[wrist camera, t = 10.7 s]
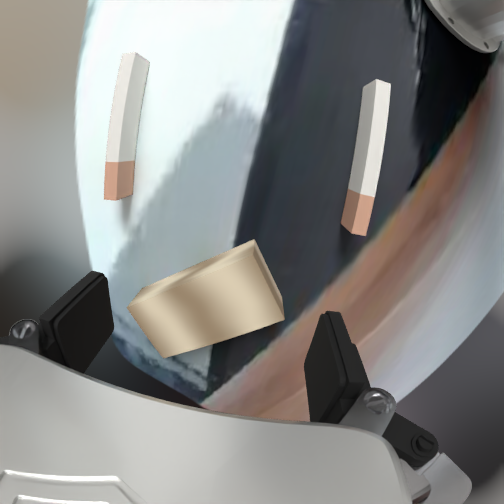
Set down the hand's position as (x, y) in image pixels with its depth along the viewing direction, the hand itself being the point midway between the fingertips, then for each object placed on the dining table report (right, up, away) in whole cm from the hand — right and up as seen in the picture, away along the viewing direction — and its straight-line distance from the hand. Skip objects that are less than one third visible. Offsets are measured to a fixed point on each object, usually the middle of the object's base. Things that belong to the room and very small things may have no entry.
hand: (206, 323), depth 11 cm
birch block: (-2, -1, +14) cm, 14 cm away
